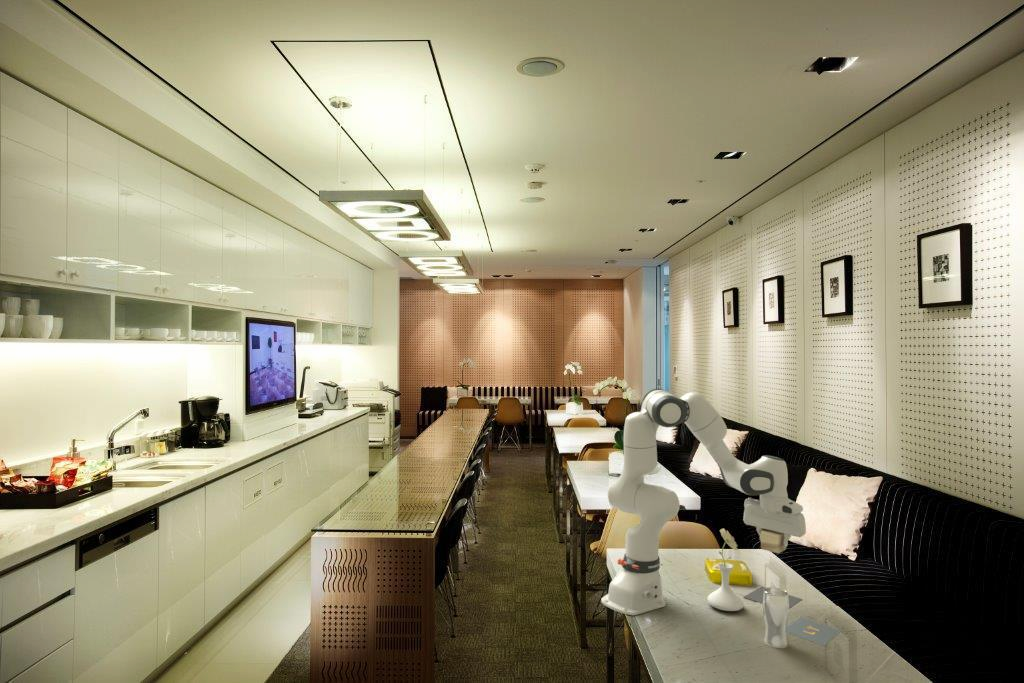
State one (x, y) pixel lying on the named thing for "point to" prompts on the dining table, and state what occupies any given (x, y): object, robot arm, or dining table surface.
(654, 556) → the robot arm
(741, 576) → the element tile
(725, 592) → the flower in vase
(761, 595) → the pad
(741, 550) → the dining table surface
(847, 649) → the dining table surface
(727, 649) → the dining table surface
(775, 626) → the beer glass
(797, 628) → the grey flat slab
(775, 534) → the light wood cube
